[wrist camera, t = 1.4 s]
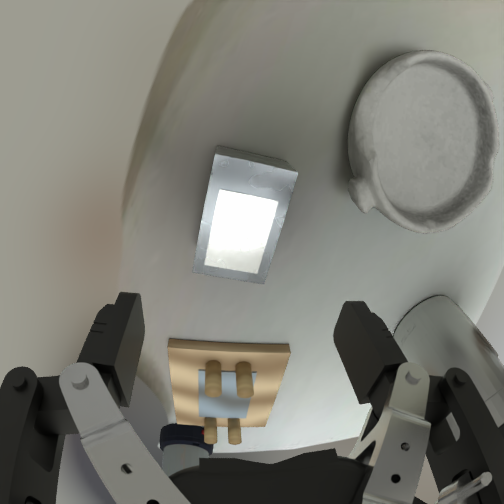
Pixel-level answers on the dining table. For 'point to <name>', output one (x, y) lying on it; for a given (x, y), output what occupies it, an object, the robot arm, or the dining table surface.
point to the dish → (423, 141)
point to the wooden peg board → (225, 384)
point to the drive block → (243, 215)
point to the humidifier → (182, 447)
